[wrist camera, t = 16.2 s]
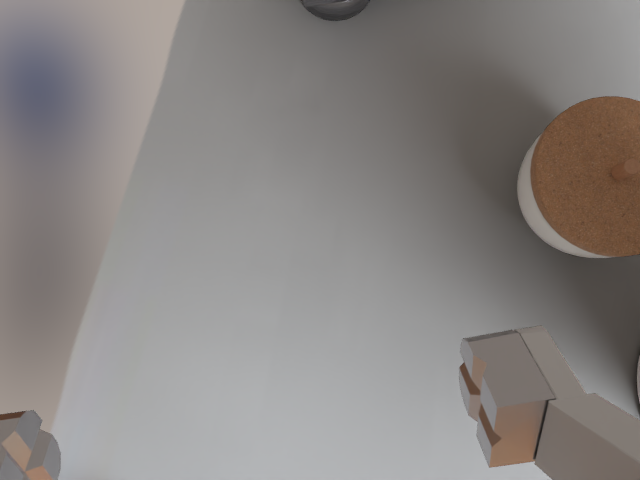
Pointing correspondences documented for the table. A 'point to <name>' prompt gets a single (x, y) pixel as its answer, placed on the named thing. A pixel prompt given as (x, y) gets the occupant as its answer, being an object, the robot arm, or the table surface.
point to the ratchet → (338, 9)
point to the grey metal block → (319, 2)
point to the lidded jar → (586, 180)
